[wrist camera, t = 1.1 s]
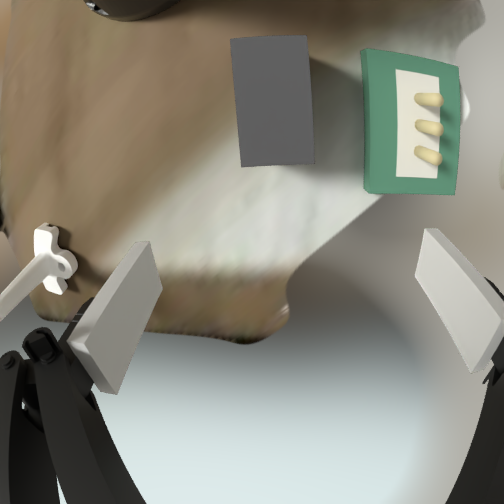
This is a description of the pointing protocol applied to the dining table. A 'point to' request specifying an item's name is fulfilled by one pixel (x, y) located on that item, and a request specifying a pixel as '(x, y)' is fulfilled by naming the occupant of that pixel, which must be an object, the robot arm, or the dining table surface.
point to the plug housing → (273, 100)
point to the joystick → (41, 269)
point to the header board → (410, 124)
